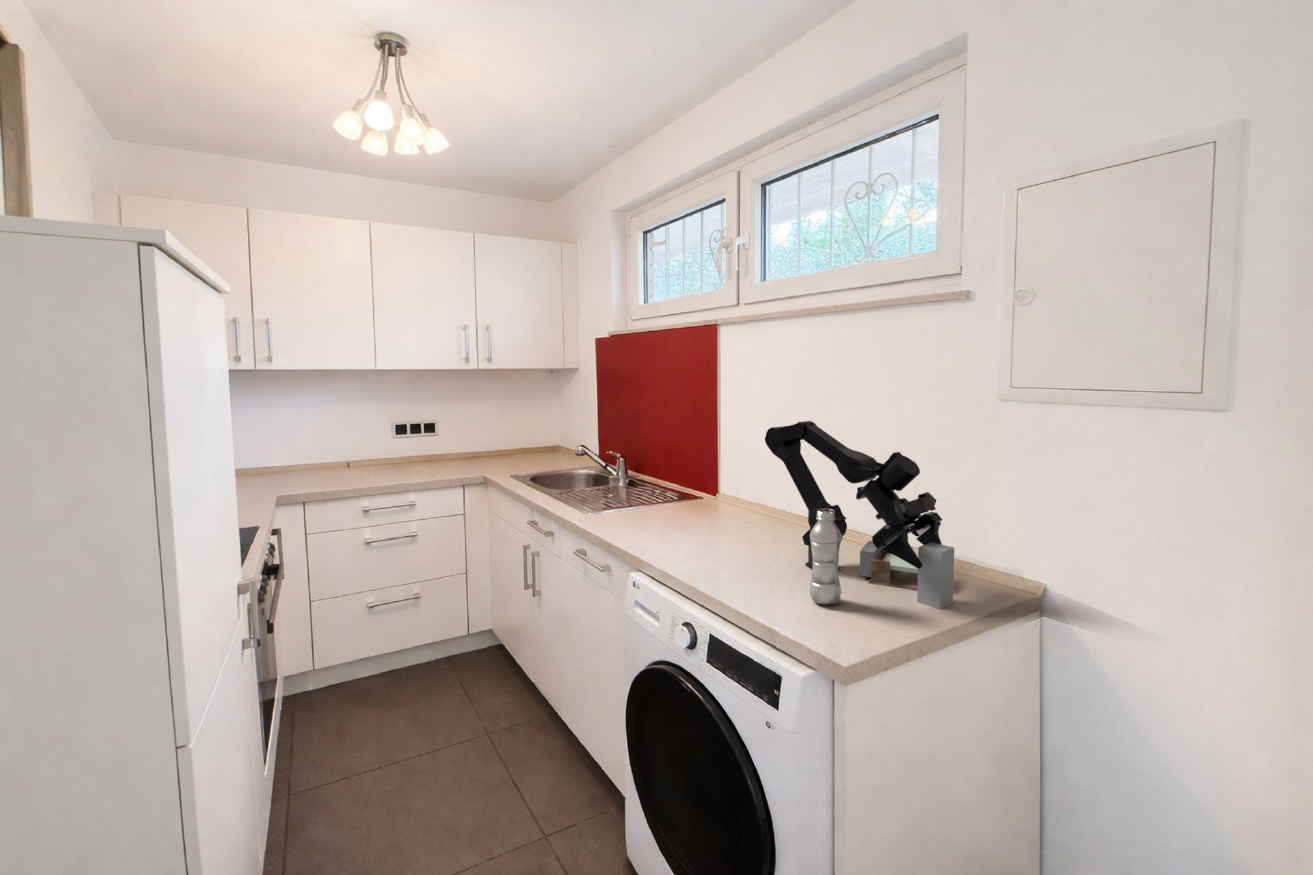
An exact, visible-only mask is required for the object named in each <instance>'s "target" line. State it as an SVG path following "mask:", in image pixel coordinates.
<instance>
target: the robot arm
mask: <svg viewBox="0 0 1313 875" xmlns="http://www.w3.org/2000/svg"><path fill="white" fill-rule="evenodd" d="M802 440H803V441H804V442H806V443H807V444H808V445H809V446H811V447H813V448H814V449H815V450H817V451H818V452H820V453H821V454H822V455H823V456H825V457H826V458H828V459H829V461H831V462H833V464H834V465H835V466H836V468H837V471H838V473H839V474H840V475H842V477H843V478H844V479H845V480H846V481H848V483H850V484H852V485H853V484H859V483H860V484H861V483H863V482H867V483H866V484H865V485H863V486H858V487H856V488H857V490H856V491H857V492H856V496H855V498H856V500H862V499H866V500H868V502H869V503H870V504H871V506H872V507H873V509H874V510H875V511H876V513H877V514H876V515H875V518H876V519H877V520H879V521H880V520H882V521H883V522H884V523H885V524H884V525H883V526H882V527H881V528H880V529H878V531H876V532H875V533H874V534H873V535H872V536H871V541H872V543H873V544H874V545H875V547H876V548H877V549H880V548H883V549H882V550H883V551H887V552H889V553H891V554H893V555H895V556H897V557H899V558H900V559H902V560H904V561H906V562H907V563H909V564H911V565H913V566H914V567H916V568H918V569H920V568H921V567H922V566H923V565H922V563H921V562H920V560H919V558H918V554H916V552H915V551H914V549H913V547H912V546H911V544H910V543H909V535H908V534H912V535H914V536H915V537H916V541H918V542H919V543H921V544H922V546H923V545H926V544H929V543H936V544H940V545H943V543H942V541H941V538H940V534H939V531H940V527H941V525H942V521H943V519H942V517H941V515H939V513H938V512H936V509H937V508H936V507H935V505H936V502H937V499H936V498H935V497H934V496H933V495H932V494H931V493H930V492H929V491H926V492H924V493H923V492H922V493H920V494H918V495H917V498H915V499H913V500H910V501H909V500H908V499H907V498H905V497H903V498H901V497H899V496H898V494H897V493H896V492H895V491H897V492H902V491H903V490H904V489H905V488H906V487H907V486H908V485H910V483H912V482H913V480H915V479H916V478H917V477H918V476H919V475H920V473H921V470H920V467H919V465H918V464H917V463H916V462H915V461H914V460H912V459H911V458H909V457H908V456H905V455H903V454H902V453H901V452H900V451H896V452H893V453H892V454H890V455H889V458H887V460H886V461H884V463H882V462H879V461H877V460H876V459H875V458H874V457H872V456H870V455H868V454H866V453H864V452H862V451H858V450H854V449H851V448H848V447H847V446H846V445H844V444H843V443H842V442H841V441H839V440H838V439H836V438H835V437H833V436H832V435H830V433H828V432H826V431H824V430H823V429H822V428H820V427H819V426H817V423H815V422H814V421H812V420H807V421H806V420H805V421H798V422H796V423H794V424H791V425H784V426H783V425H782V426H774V427H773V426H772V427H769V428H768V430H766V433H765V437H764V441H765V445H766V446H767V447H768V449H769V450H770V452H771V453H772V454H773V456H776V457H777V459H779V460H780V461H782V462H783V465H784V466H785V468H786V470H787V472H788V474H789V475H790V477H791V480H792V481H793V483H794V486H795V487H796V489H797V491H798V493H799V495H800V497H801V499H802V500H803V502H804V504H805V506H806V508H807V510H808V513H807V514H808V516H807V517H808V519H807V520H808V521H807V522H808V525H809V530H807V531H806V532H805V533H804V534H803V535H802V540H803V544H804V546H807V549H808V551H807V554H808V558H807V560H808V561H806V562H805V564H804V565H805V566H806V567H808V568H809V569H811V570H812V569H813V559H812V548H811V541H810V533H811V530H812V528H813V527H814V526H815V524H816V523H817V522H818V520H817V519H816V517H817V510H819V509H832V510H834V512H835V520H834V523H835V525H836V526H837V527H838V529H839V531H840V534H841V541H842V540H843V537H844V536H845V534H846V533H847V528H848V524H847V522H846V520H847V517H846V516H845V515H844V514H843V512H842V509H841V507H840V505H839V504H835V505H831V504H830V503H829V502H828V501H827V500H826V498H825V496H824V494H823V493H822V490H821V489H820V487H819V484H818V482H817V481H816V479H815V476H814V475H813V474H812V471H811V470H810V468H809V466H808V464H807V463H806V461H805V459H804V457H803V455H802V452H801V449H802V448H801V447H802ZM929 511H930V512H929ZM934 511H935V512H934ZM839 560H840V559H839ZM839 560H838V571H841V567H839V564H840V563H839Z"/></svg>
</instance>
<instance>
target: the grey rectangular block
mask: <svg viewBox="0 0 1313 875" xmlns="http://www.w3.org/2000/svg"><path fill="white" fill-rule="evenodd" d="M917 550H918V554H917V557H918V558H919V560H920V562H921V563H922V565H923V566H922V567H921V568H920V569H918V590H916V591H917V594H916V595H917V598H916V599H917V603H919V604H922V605H926V606H928V607H932V608H934V609H938V610H942V609H944V608H946V607H948V606H949V605H953V604H954V576H955V574H954V573H955V572H954V571H955V570H954V569H955V547H952V546H948V545H944V544H942V545H940V544H936V543H929V544H926V545H923V544H922V545H921V546H918V549H917Z"/></svg>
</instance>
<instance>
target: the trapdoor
mask: <svg viewBox="0 0 1313 875" xmlns="http://www.w3.org/2000/svg"><path fill="white" fill-rule="evenodd" d="M859 551H860V552H859V576H861V577H867V578H871V560H872V559H876V560H881V548H880V549H877V548H876V547H875V545H874V544H873V543H872V540H868V541H867V542H866V543H865V544H864V545H863V547H862V548H861V549H860V550H859ZM883 560H884V561H890V570H897V571H904V572H912V573H918V568H916V567H914V566H913V565H911V564H909V563H907V562H906V561H904V560H902V559H900V558H899V557H897V556H895V555H893V554H890V553H887V554H886V556H885V557H884V559H883Z"/></svg>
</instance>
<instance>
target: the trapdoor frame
mask: <svg viewBox="0 0 1313 875" xmlns="http://www.w3.org/2000/svg"><path fill="white" fill-rule="evenodd" d="M882 549H883V548H881V560H876V559H872V560H871V577H869V580H868V584H872V585H873V584H874V585H881V586H885V587H893V588H900V589H906V590H912V591H918V573H912V572H904V571H897V570H890V561H884V560H883V559H884V557H885V556H886V554H887V553H889V552H887V551H883V550H882ZM890 554H891V553H890Z"/></svg>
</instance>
